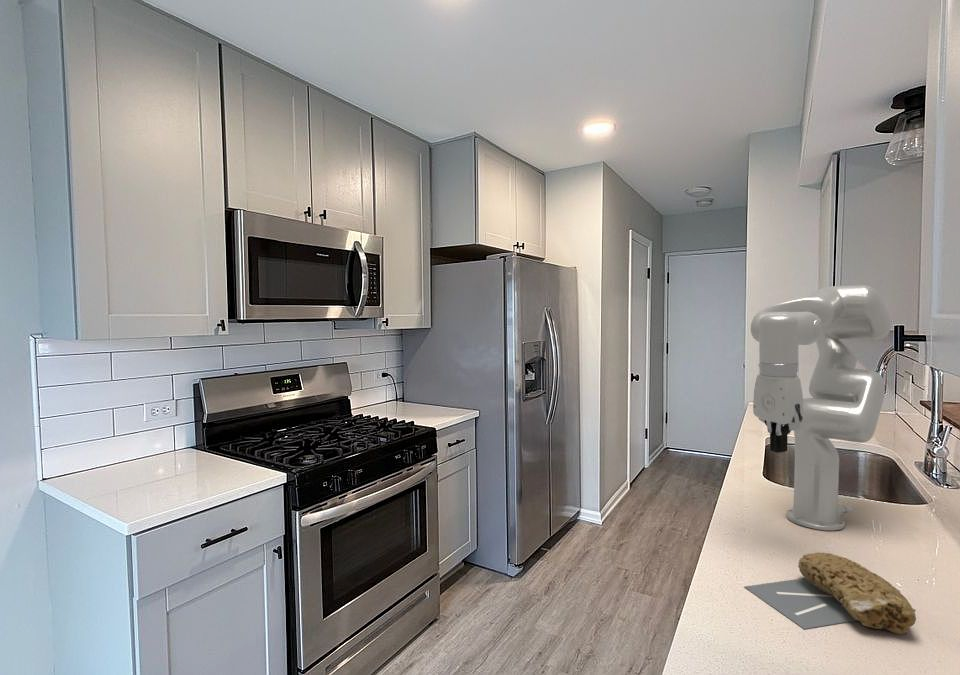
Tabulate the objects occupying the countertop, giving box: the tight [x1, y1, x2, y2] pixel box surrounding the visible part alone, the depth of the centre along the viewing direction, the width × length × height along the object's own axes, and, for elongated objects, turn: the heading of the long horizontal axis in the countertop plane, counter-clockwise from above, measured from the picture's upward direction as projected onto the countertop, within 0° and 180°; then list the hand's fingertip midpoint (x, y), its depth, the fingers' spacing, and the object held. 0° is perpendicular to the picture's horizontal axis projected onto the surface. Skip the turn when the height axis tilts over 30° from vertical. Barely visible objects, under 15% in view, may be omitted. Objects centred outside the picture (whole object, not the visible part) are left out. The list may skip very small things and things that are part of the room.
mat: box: [744, 577, 916, 630], centre depth 97 cm, size 24×14×1 cm, turn 103°
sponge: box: [797, 551, 917, 635], centre depth 95 cm, size 13×8×20 cm
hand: (778, 450), depth 117 cm, fingers closed
